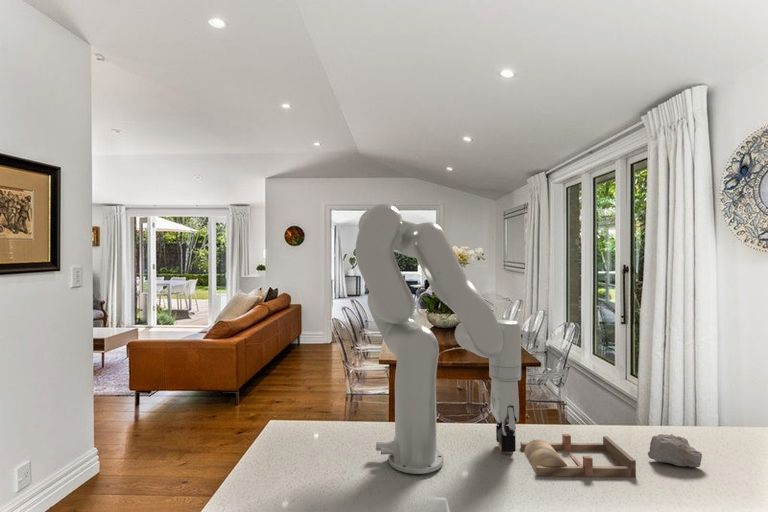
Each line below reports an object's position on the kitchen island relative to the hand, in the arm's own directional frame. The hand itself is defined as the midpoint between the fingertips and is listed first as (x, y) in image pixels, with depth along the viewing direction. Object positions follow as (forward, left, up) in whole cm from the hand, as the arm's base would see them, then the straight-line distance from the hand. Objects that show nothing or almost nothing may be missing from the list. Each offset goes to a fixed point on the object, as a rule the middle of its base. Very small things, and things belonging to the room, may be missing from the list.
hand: (505, 445), depth 108 cm
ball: (0, 0, 0) cm, 0 cm away
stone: (+32, -5, -1) cm, 33 cm away
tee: (0, 0, -2) cm, 2 cm away
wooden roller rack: (+15, -5, -2) cm, 16 cm away
